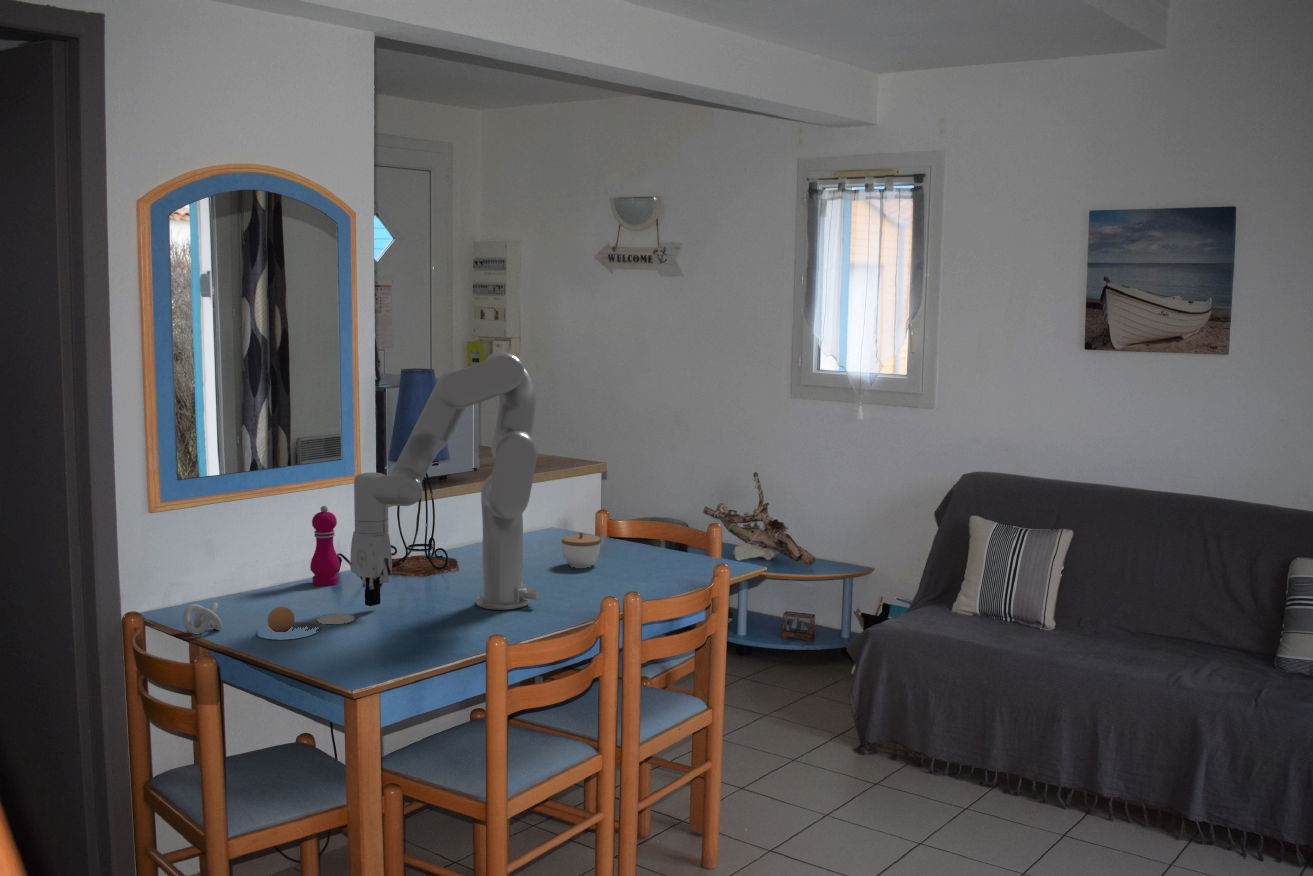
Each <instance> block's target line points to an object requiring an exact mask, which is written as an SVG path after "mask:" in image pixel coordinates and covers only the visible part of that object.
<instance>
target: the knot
mask: <svg viewBox="0 0 1313 876" xmlns="http://www.w3.org/2000/svg"><path fill="white" fill-rule="evenodd" d="M218 609H219V603H218V602H216V601H215V602H212V603H211V605H210V606H209V608H207V607H204V606H202V605H200V604H198V603H192V604H190V605H188V606H186V608H185V609H184V611H183V614H182V624H183V627H184V628H185V630H186V631H187V632H188V633H190V634H191V633H201V632H203V633H205V632H206V631H207V630H208V629H209V627H210V628H211V629H212V628H213V629H216V630H219V631H221V630H222V629H223V623H222V620H221V619H220V617H219V616H218V615H217V614H216V612H217V610H218ZM192 612H195V613H194V617H193V624H192V622H191V615H192ZM213 629H212V630H213Z"/></svg>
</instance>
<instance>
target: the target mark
mask: <svg viewBox="0 0 1313 876" xmlns="http://www.w3.org/2000/svg"><path fill="white" fill-rule="evenodd" d="M306 626H307V627H308V629H306V630H307V631H308V630H309V629H310V630H311V629H312V628H313V629H314V628H315V627H316V628H317V627H318V626H319V625H318V624H315V623H312V622H307V621H306V622H305V621H294V624H293V626H292V627H293V629H292V631H293V630H294V629H295V628H296V629H297V628H298V627H299V628H300V627H301V629H302V628H303V627H304V628H305V627H306ZM306 630H305V631H306ZM319 630H320V631H321V627H320V626H319V629H317V630H316V632H317V631H319ZM320 631H319V632H320Z"/></svg>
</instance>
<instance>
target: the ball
mask: <svg viewBox="0 0 1313 876" xmlns="http://www.w3.org/2000/svg"><path fill="white" fill-rule="evenodd" d="M295 619H296V618H295V615H294V612H293V611H292V610H291V609H290V608H288V607H285V606H278V607H275V608H274V609H272V610H271V611H270V613H269V614H268V616H267V626H269V627H270V628H271V629H272V630H273V631H275V632H286V631H288V630H289V629H290V628H291V627H292V626H293V624H294V622H295Z"/></svg>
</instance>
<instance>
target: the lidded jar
mask: <svg viewBox="0 0 1313 876" xmlns="http://www.w3.org/2000/svg"><path fill="white" fill-rule="evenodd" d="M601 541H602V540H601V537H599V536H597V535H593V534H592V535H591V534H584V532H583V531H581V532H579V534H570V535H565V536H563V537H561V550H562V556H563V558H564V560H565V562H566V563H567V564H568V565H569V567H570V566H571V567H570V568H573V567H575V569H588V568H587V567H589V568H592V566H593V564H595V563H596V561H598V557H600V556H599V555H600V551H601Z"/></svg>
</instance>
